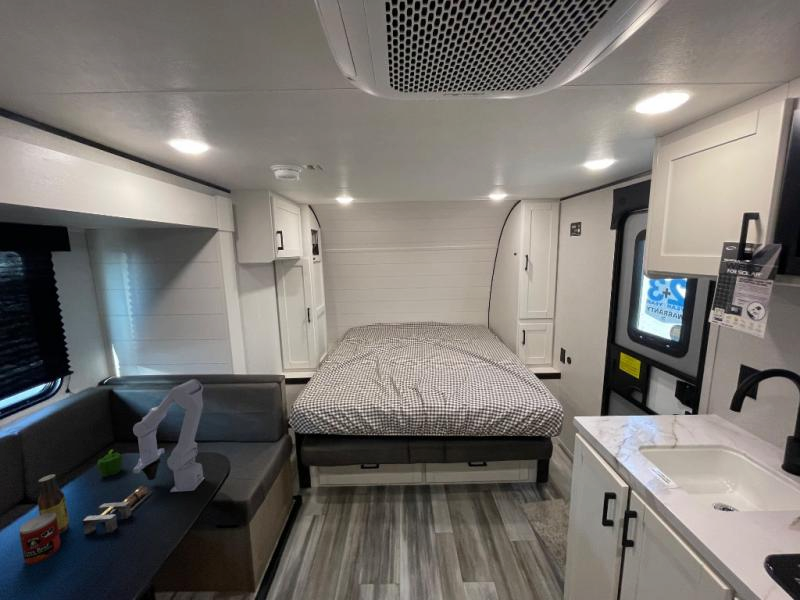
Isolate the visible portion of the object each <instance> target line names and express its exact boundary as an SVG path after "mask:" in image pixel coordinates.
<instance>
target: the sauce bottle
mask: <svg viewBox="0 0 800 600" xmlns="http://www.w3.org/2000/svg"><path fill="white" fill-rule="evenodd" d="M38 485H39V488H40V496H39V497H38V499H37V505H38V514H39V515H38V516H40V515H42V514H46V513H51V512H52V513H55V514H56V517H57V523H58V530H59V535H61V534H63V533H64V532H66V531H67V530H68V529H69V527H70V523H69V522H70V520H69V514H68V507H67V502H66V498H65V493H64V492H63V491H62V490H61V489H60V487H59V486H58V483H57V476H56V474H53V473H52V474H48V475H46V476H44V477H42V478H39V479H38Z"/></svg>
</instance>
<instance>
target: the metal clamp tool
mask: <svg viewBox="0 0 800 600" xmlns="http://www.w3.org/2000/svg"><path fill="white" fill-rule="evenodd" d="M153 493H154V490H153V489H152V490H150V491H148V492H147V493H145V494H144V495H143V496H142V497H141V498H140V499H139V500H138V501H137V502H136V503H134V504H133V505H132V506H130V502H123V501H121V502H108V503H103V504H101V505H99V507H98V515H88V516H86V517H85V518H84V519H83V520H82V526H83V527H82V528H83V532H84V535H91V534H92V533H94V531H95V530H96V529H97V527H96V523H105V530H106V533H108V534H109V532H110V533H113V532H115V531H116V530H117V529H118V528H117V527H118V522H117V520H118V519H117V514H116V512H117V511H119V510H118V509H120V511H119V512H120V519H121V520H124V519H125V520H127V519H128V518H130V517H131V516H132V514H133V512H134V511H135V510H136V509H137V508H138V507H139V506H140V505H141V504H142V503H143V502H145V500H146V499H148V498H149V497H150V496H151V495H152V494H153ZM129 496H130V495H129ZM129 496H127V497H126V498H128V497H129ZM114 513H115V514H114ZM129 516H130V517H129ZM116 528H117V529H116ZM115 529H116V530H115ZM114 530H115V531H114Z"/></svg>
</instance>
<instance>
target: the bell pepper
mask: <svg viewBox="0 0 800 600" xmlns="http://www.w3.org/2000/svg"><path fill="white" fill-rule="evenodd" d="M113 452H114V449H110V450H109V451H108V454H106V455H104V457H102V458H100V459H98V460H97V471H98V472H99V474H100V475H101V476H102V477H105V478H106V477H109V476H114V475H116V474H118V473H119V472H121V470H122V465H123V456H122V455H121V453H119V452H114V453H113Z"/></svg>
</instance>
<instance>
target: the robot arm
mask: <svg viewBox="0 0 800 600" xmlns="http://www.w3.org/2000/svg"><path fill="white" fill-rule="evenodd" d="M203 390H204V386H203V384H202V383H201V382H200V381H199V380H197V379H195V378H193V379H190V380H188V381H186V382H184V383H181V384H180V385H177V386H174V387H173V388H171V389H170V390H169V391H168V394H167V395H166V397H164V399H163V400H162V401H161V403H160V404H159V406H154V407H152V408H150V409H149V410H148V413H147V414H146V415H145V416H143V417H142V420H141V421H139V422H136V423H135V424H134V425H133V427H132V431H133V434H134V436H136V437H137V440H138V441H137V442H138V449H139V450H138V451H139V457H140V458H138V461H137V462H138V463H137V464H136V466H135V467H134V468H132V470H133V474H140V473H141V471H142V472H143V473H144V474H145V476H146V478H147V480H148V481H153V480H155V479H156V478H157V471H158V468H159V465H160V463H161V458H160V456H161V455H163V454H165V448H159V449H158V444H157V443H158V441H157V436H156V435H157V434H158V432H157V431H158V430H157V429H158V428H159V425H160V423H161V422H162V421H163V420H164V418H165V417H166V416H167V411H168V410H169V409H170V408H171V407H172V406H173V405H174V404H175V403H176V404H177V405H178V406H180V407H181V408H182V409H183V410H185V412H184V417H183V421H182V425H181V430H180V433H179V438H178V442H177V445H176V446H175V447H174V448H173V450H172V451H171V453H170V456H168V458H167V461H166V464H167V466H168V468H169V469H170V470H171V471H173V478H174V486H173V487H172V488H171V489H170V493H176V492H190V491H191V492H192V491H195V490H196V489H197V487H198V486H199V485H200V484H201V483H202V482H203V481H204V479H205V477H204V472H203V465H202V464H201V462H200V463H199V462H196V457H197V455H198V451H199V450H198V443H197V442H196V441H195V439H196V435H197V431H198V429H199V428H198V427H199V423H200V421H201V420H200V419H201V416H202V412H203V411H202V410H203V408H204V401H203Z"/></svg>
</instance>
